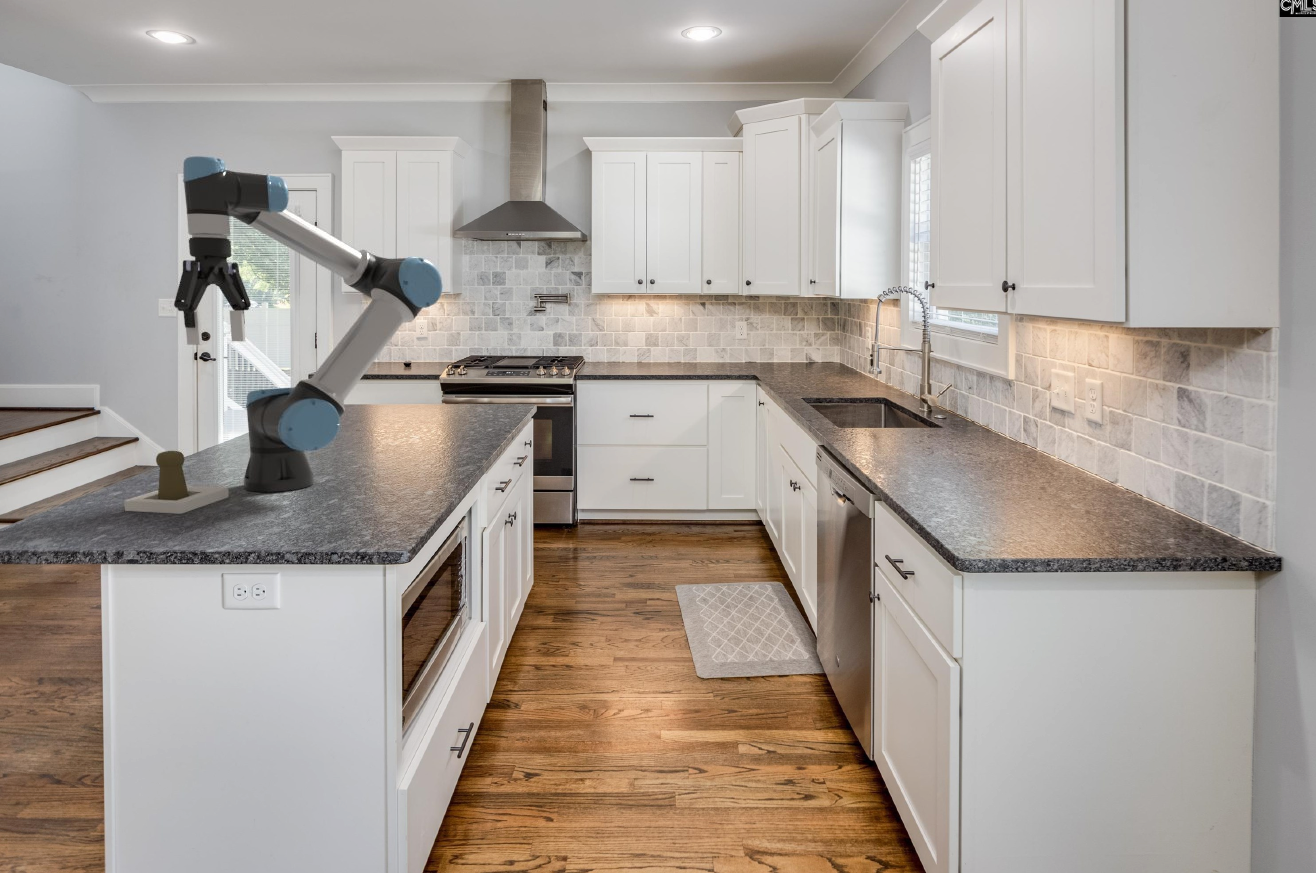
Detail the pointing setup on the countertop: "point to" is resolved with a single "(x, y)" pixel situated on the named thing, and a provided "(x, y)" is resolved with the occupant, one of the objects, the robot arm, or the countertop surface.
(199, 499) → the socket plate
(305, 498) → the countertop surface
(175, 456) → the cork
